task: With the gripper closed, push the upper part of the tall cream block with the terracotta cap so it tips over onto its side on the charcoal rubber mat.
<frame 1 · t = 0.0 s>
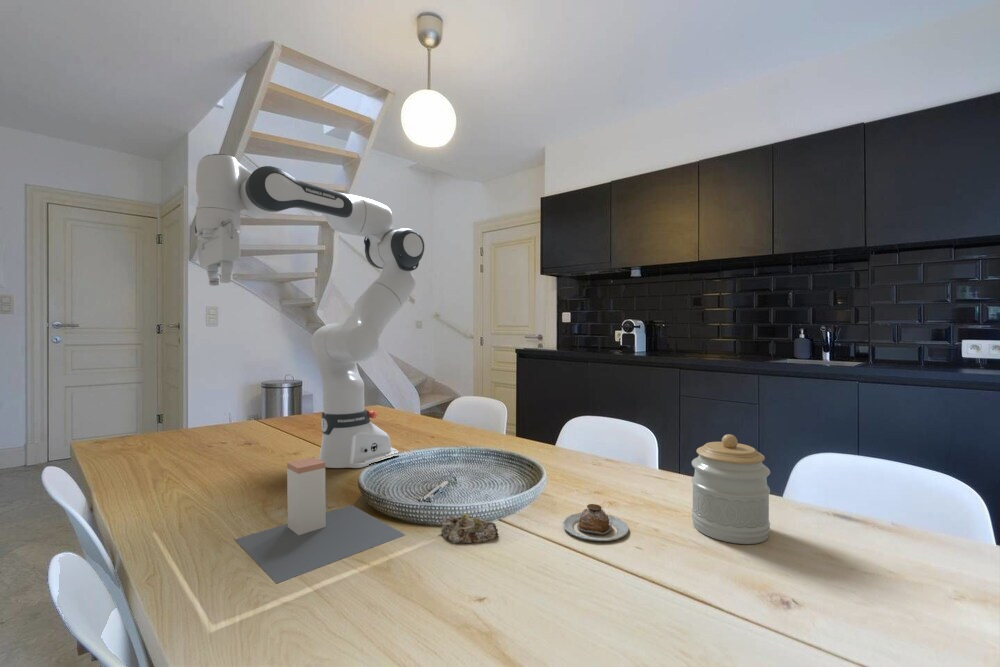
hand: (219, 284, 108), 48 cm above the table, tool pointing down, fingers open, 8 cm apart
mineral rock: (469, 537, 84), on the table
pastry: (595, 532, 86), on the table
jar: (729, 530, 85), on the table
rubber mat: (320, 540, 81), on the table
cream block: (306, 526, 86), point 1 cm above the table, touching rubber mat
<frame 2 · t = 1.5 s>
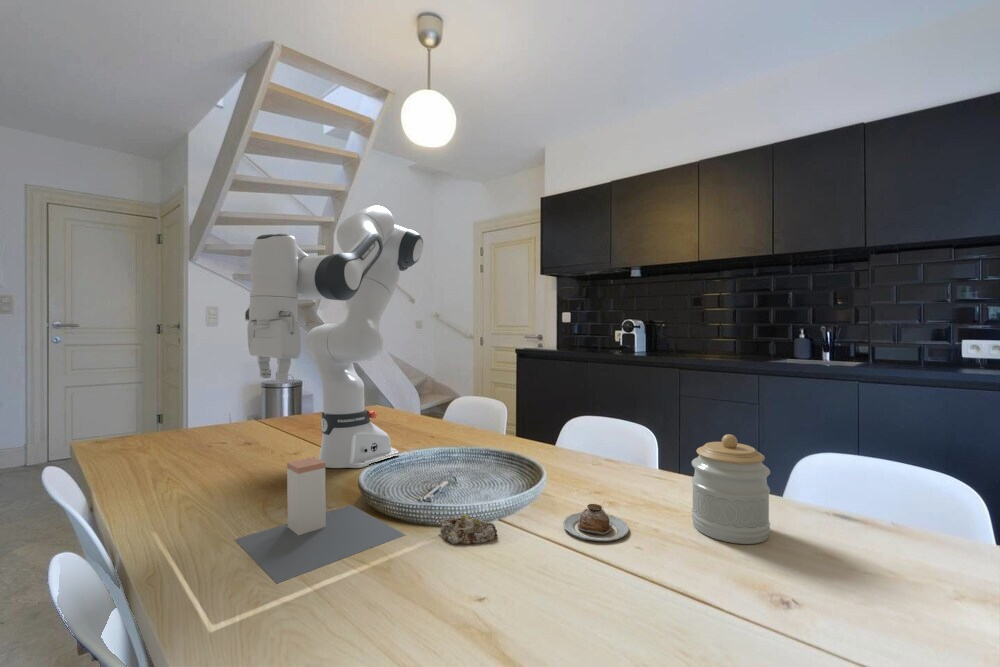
hand: (273, 379, 94), 27 cm above the table, tool pointing down, fingers open, 8 cm apart
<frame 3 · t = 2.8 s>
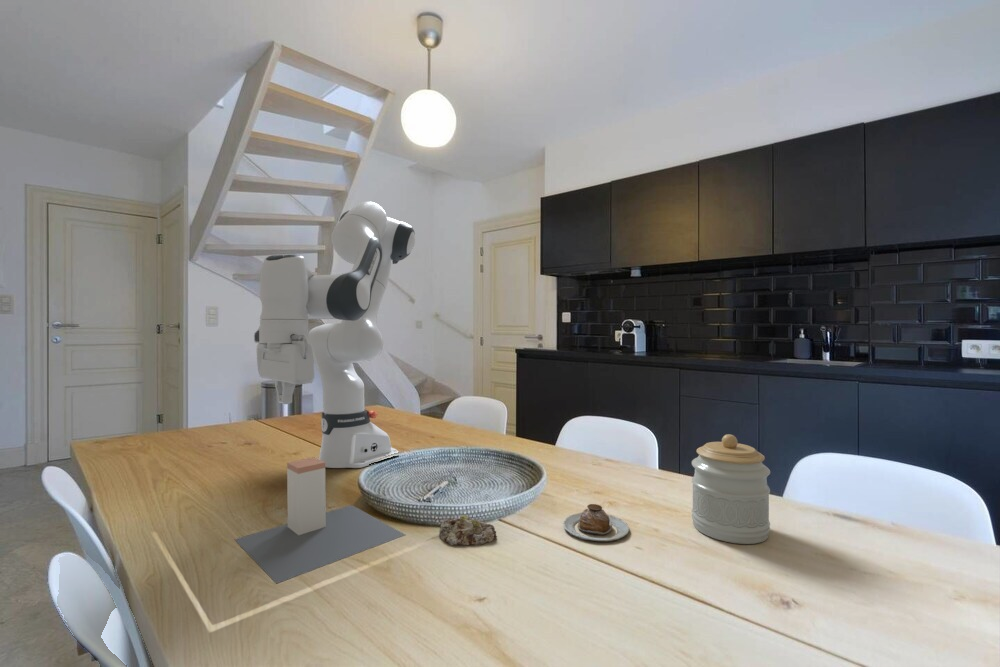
hand: (284, 403, 92), 23 cm above the table, tool pointing down, fingers closed
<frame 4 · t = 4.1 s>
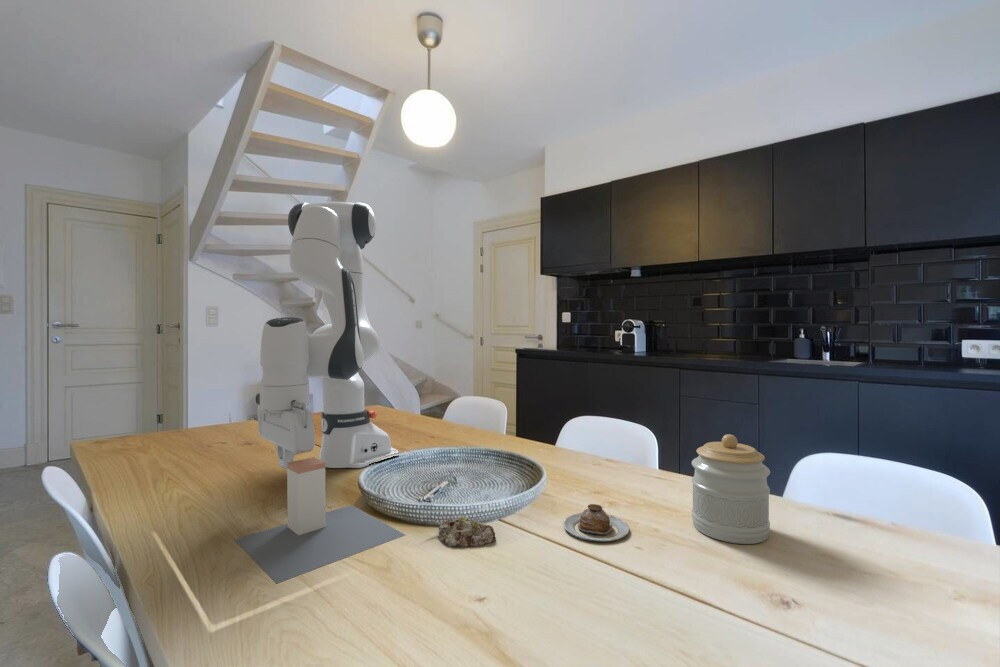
hand: (285, 467, 93), 10 cm above the table, tool pointing down, fingers closed
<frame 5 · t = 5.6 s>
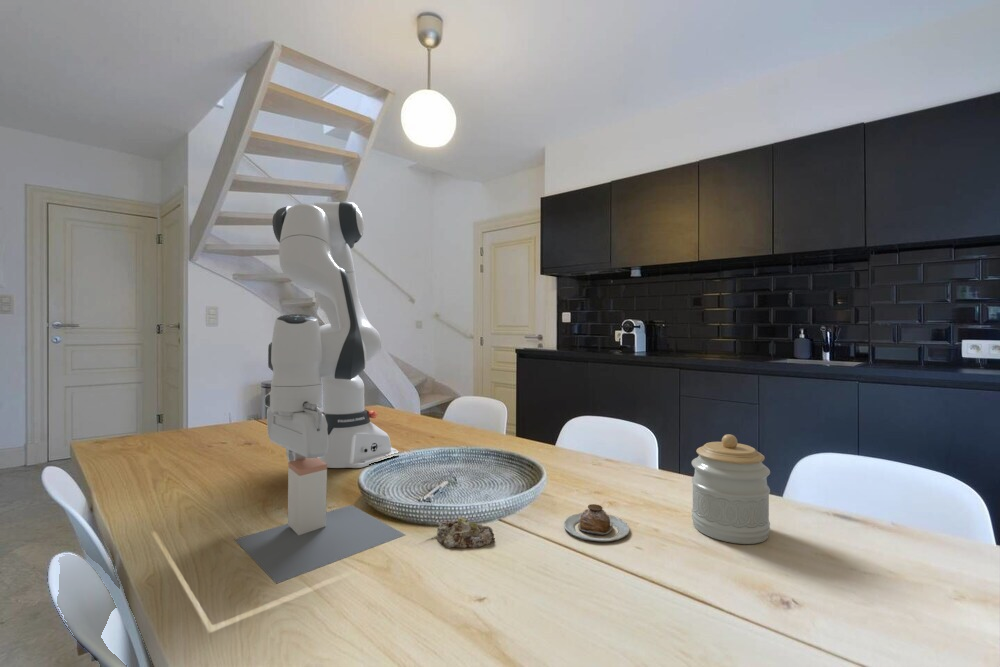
hand: (296, 472, 87), 10 cm above the table, tool pointing down, fingers closed
cream block: (306, 525, 86), point 1 cm above the table, tilted 6°, touching gripper, rubber mat
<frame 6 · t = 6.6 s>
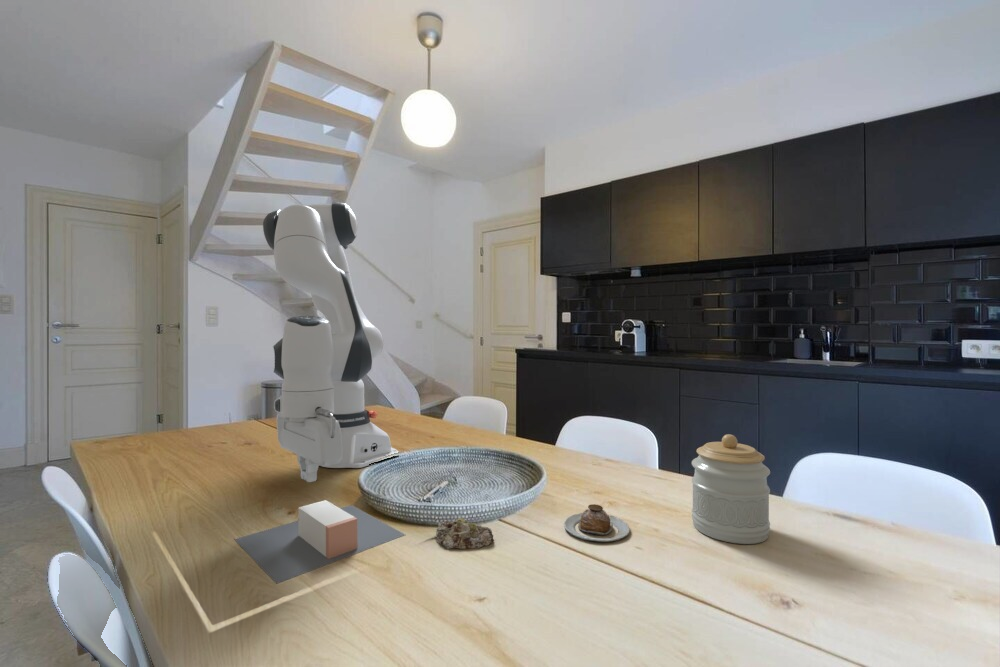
hand: (308, 480, 84), 10 cm above the table, tool pointing down, fingers closed
cream block: (312, 517, 84), point 3 cm above the table, tilted 90°, touching rubber mat
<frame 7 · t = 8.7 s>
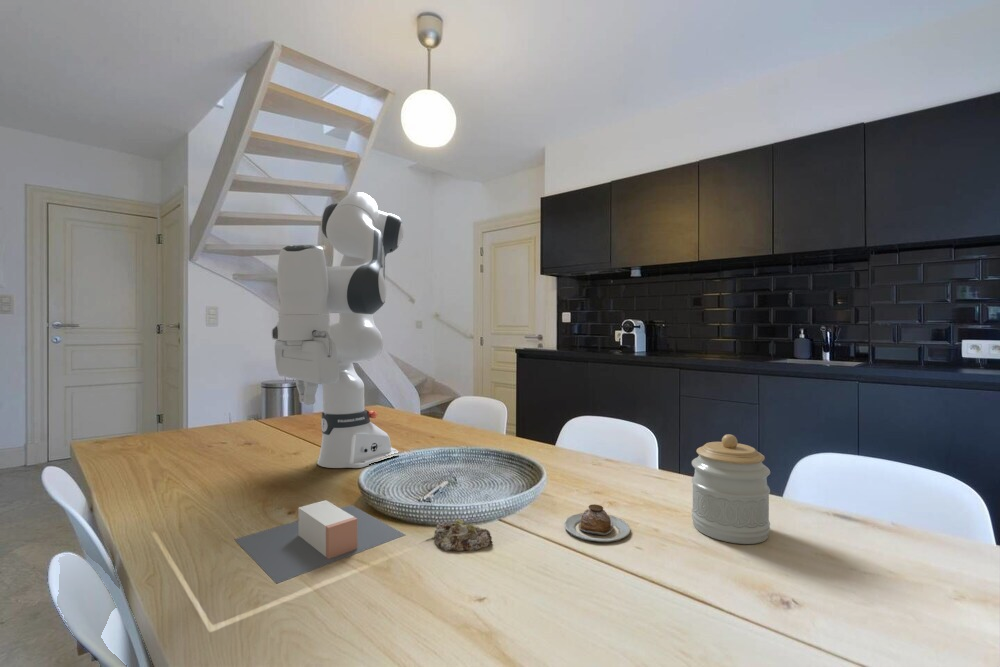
hand: (307, 403, 87), 23 cm above the table, tool pointing down, fingers closed
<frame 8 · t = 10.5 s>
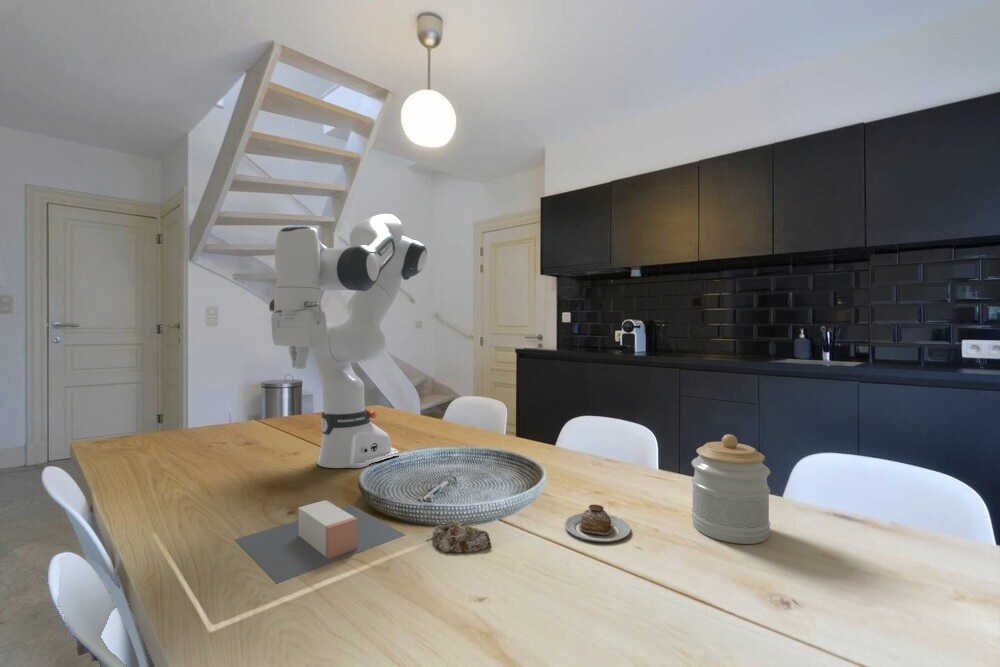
hand: (299, 368, 97), 29 cm above the table, tool pointing down, fingers closed
at the end: cream block tilted 90°; cream block inside the target area on the rubber mat (4.0 cm from its centre), point 3.1 cm above the rubber mat's base; cream block touching rubber mat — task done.
